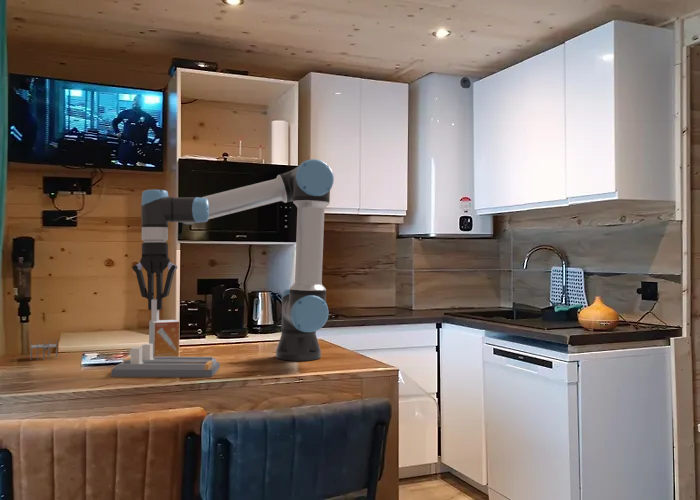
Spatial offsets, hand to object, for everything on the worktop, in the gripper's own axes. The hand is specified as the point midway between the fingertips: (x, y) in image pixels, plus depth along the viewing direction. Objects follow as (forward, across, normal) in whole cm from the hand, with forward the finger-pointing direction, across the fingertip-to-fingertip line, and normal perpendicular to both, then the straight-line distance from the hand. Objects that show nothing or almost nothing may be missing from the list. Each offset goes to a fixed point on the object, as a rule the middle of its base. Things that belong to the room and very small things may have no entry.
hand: (155, 320), depth 185 cm
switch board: (+15, -4, +4) cm, 16 cm away
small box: (+15, +2, -15) cm, 21 cm away
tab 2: (+12, +2, 0) cm, 13 cm away
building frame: (+14, +41, -19) cm, 48 cm away
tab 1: (+12, +3, +7) cm, 15 cm away
